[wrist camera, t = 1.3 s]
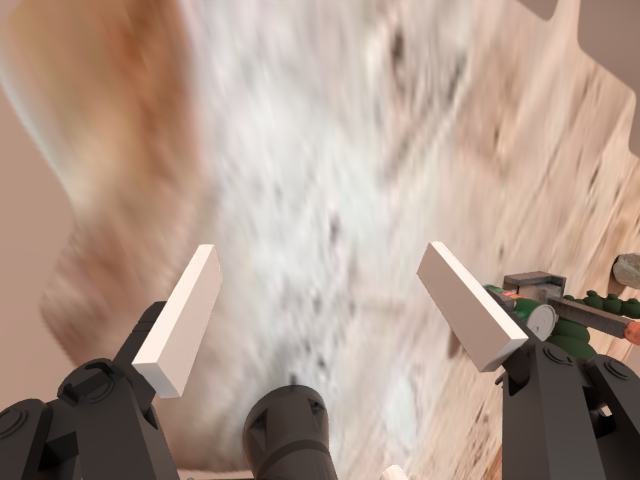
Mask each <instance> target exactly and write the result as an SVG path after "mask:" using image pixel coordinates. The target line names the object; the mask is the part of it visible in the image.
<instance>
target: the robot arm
mask: <svg viewBox="0 0 640 480" xmlns="http://www.w3.org/2000/svg"><path fill="white" fill-rule="evenodd" d="M417 275H418V277H419V278H420V280H421V281H422V283H423V284H424V286H425V288H426V289H427V291H428V292H429V294H430V295H431V297H432V299H433V300H434V302H435V303H436V305H437V306H438V308H439V310H440V311H441V313H442V314H443V316H444V317H445V319H446V321H447V322H448V324H449V325H450V327H451V328H452V330H453V332H454V333H455V335H456V336H457V338H458V339H459V341H460V342H461V344H462V346H463V347H464V349H465V350H466V352H467V353H468V355H469V357H470V358H471V360H472V361H473V363H474V364H475V366H476V368H477V369H478V371H479V372H492V371H495V370H496V369H497V368H499V367H500V366H501V365H502V366H503V367H504V369H505V370H506V371H505V372H504V373H503V374H502V375H501V376H500V377H499V378H498V379H497V380H496V381H495V384H496V385H498V384H499V383H501V382H502V381H503V386H502V387H501V388H503V425H502V480H640V378H639V377H638V376H637V375H636V374H635V373H634V372H633V371H632V370H631V369H630V368H628V367H627V366H626V365H625V364H623V363H622V362H620V361H618V360H616V359H614V358H612V357H609V356H607V355H602V354H598V355H595V356H593V357H592V358H590V359H589V360H586V359H582V358H578V357H574V356H570V355H569V354H568V353H566V352H565V351H564V350H563V349H561V348H560V347H558V346H556V345H554V344H552V343H549V342H546V341H541V340H540V339H539V338H538V337H537V336H536V335H535V334H534V333H533V332H532V331H531V330H530V329H529V328H528V327H527V326H526V324H525V323H524V322H523V321H522V320H521V319H520V318H519V317H518V316H517V315H516V314H515V313H513V311H512V310H511V309H510V308H509V307H508V306H506V303H505V302H504V301H503V300H502V299H501V298H500V297H499V296H498V295H496V294H495V293H493V292H492V291H491V290H489V289H488V288H485V289H484V288H483V287H482V286H481V285H480V284H479V283H478V282H477V281H476V280H475V279H474V277H473V276H472V275H471V274H470V273H469V272H468V271H467V270H466V269H465V268H464V267H463V265H462V264H461V263H460V262H459V261H458V260H457V259H456V258H455V257H454V256H453V254H452V253H451V252H450V251H449V250H448V249H447V248H446V247H445V246H444V245H443V244H442V242H429V244H428V246H427V249H426V251H425V254H424V256H423V259H422V261H421V264H420V266H419V269H418V271H417ZM222 281H223V276H222V272H221V269H220V265H219V261H218V258H217V254H216V250H215V247H214V245H200V246H199V247H198V249H197V251H196V253H195V254H194V256H193V258H192V260H191V261H190V263H189V265H188V266H187V268H186V270H185V272H184V273H183V275H182V277H181V279H180V280H179V282H178V284H177V286H176V287H175V289H174V291H173V293H172V294H171V296H170V298H169V300H168V301H161V302H155V303H154V304H153V305H151V306H150V307H149V308H148V309H147V310H146V311H145V312H144V313H143V315H142V316H141V318H140V320H139V321H138V324H136V326H135V327H134V329H133V330H132V333H130V335H129V337H128V338H127V340H126V341H125V343H124V344H123V346H122V347H121V349H120V350H119V352H118V354H117V355H116V357H115V358H114V360H113V361H111V360H110V359H106V358H100V359H94V360H92V361H89V362H87V363H84V364H83V365H81V366H80V367H78V368H77V369H75V370H74V371H73V372H71V373H70V374H69V375H68V376H67V377H66V378H65V379H64V381H63V382H62V384H61V385H60V387H59V388H58V393H57V397H58V398H59V399H56V400H53V401H50V402H47V403H44V402H42V401H40V400H39V399H26V400H23V401H20V402H17V403H16V404H13V405H11V406H10V407H8V408H6V409H5V410H3V411H2V412H1V413H0V480H81V479H82V480H180V478H179V475H178V473H177V470H176V467H175V464H174V462H173V459H172V456H171V453H170V451H169V448H168V445H167V442H166V440H165V437H164V434H163V431H162V429H161V426H160V423H159V420H158V418H157V415H156V412H155V409H154V407H153V405H152V404H151V402H152V400H153V398H154V396H155V393H157V394H158V396H159V397H160V398H161V399H162V398H174V397H181V396H182V394H183V391H184V388H185V385H186V382H187V380H188V377H189V374H190V371H191V368H192V366H193V363H194V360H195V357H196V354H197V352H198V349H199V346H200V343H201V340H202V338H203V335H204V332H205V329H206V326H207V324H208V321H209V318H210V315H211V312H212V310H213V307H214V304H215V301H216V298H217V295H218V293H219V290H220V287H221V284H222ZM605 406H608V408H609V409H610V411H611V413H612V415H610V416H606V415H605V414H604V412H603V411H602V409H601V408H603V407H605ZM244 446H245V452H246V455H247V458H248V461H249V464H250V467H251V470H252V473H253V476H254V478H253V479H252V478H251V479H218V480H338V478H337V475H336V472H335V468H334V465H333V462H332V459H331V456H330V452H329V427H328V414H327V410H326V407H325V404H324V401H323V399H322V397H321V396H320V395H319V394H318V393H317V392H316V391H315V390H313V389H312V388H309V387H307V386H302V385H290V386H285V387H281V388H279V389H276V390H274V391H272V392H270V393H269V394H267V395H266V396H264V397H263V398H262V399H261V400H259V401H258V402H257V404H256V405H255V406H254V407H253V408H252V410H251V411H250V413H249V415H248V417H247V420H246V423H245V429H244ZM187 480H194V479H193V478H189V479H187ZM214 480H217V479H214Z"/></svg>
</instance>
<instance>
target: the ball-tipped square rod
mask: <svg viewBox="0 0 640 480" xmlns="http://www.w3.org/2000/svg"><path fill="white" fill-rule="evenodd" d="M561 289H562V287H559V286H555V285H552V284H548V283H544V282H542V283H535V284H528V285H521V286H519V293H518V295H521V296H524V297H526V298H529V299H532V300H535V301H538V302H540V303H543V304H546V305H550V306H551V307H552V308H553V309H554V311H555V315H559V316H561V317H564V318H567V319H569V320H572V321H575V322H578V323H580V324H583V325H586V326H588V327H591V328H594V329H596V330H599V331H602V332H604V333H607V334H610V335H612V336H615V337H618V338H620V339H623V338H626V339H627V340H628V341H630V342H631V343H633V344H636V345H639V346H640V322H635V321H634V320H630V319H627V318H624V317H621V316H618V315H614V314H611V313H608V312H605V311H602V310H598V309H595V308H592V307H589V306H586V305H582V304H579V303H576V302H573V301H570V300H566V299H563V298H560V294H561Z"/></svg>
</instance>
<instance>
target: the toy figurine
mask: <svg viewBox="0 0 640 480" xmlns="http://www.w3.org/2000/svg"><path fill="white" fill-rule="evenodd" d="M586 294H587V295H588V297H585V298H584V299H583V300H582V299H574V297H573V296H570V295H565V296H564V297H563V299H566V300H570V301H573V302H576V303H579V304H582V305H586V306H589V307H592V308H595V309H598V310H602V311H605V312H608V313H611V314H614V315H618V316H623V315H625V316H626V317H629V318H632V319H640V302H638V300H637V299H635V298H630V299H629V300H628V301H623V300H621V299H618V298H617V296H616V295H615V294H608V296H607V298H602V297H600V296H599V295H597V293H596V292H595V291H592V290H590V291H587V293H586ZM587 327H588V326H586V325H583V324H580V323H578V322H575V321H572V320H569V319H567V318H564V317H561V316H559V318H558V322H555V325H554V328H553V330H552V332H551V335H552V336H551V337H549V338H547V339H546V340H545V341H546V342H549V343H552V344H554V345H556V346H558V347H560V348H561V349H563V350H564V351H565V352H566V353H568V354H569V355H570V356H574V357H578V358H582V359H586V360H589V359H590V358H592V357H593V356H595V355H598V354H597V353H596V351H595V350H594V349H593V347H591V346H590V345H589V344H588V342H589V340H590V334H589V332H588V330H587V329H586V328H587Z"/></svg>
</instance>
